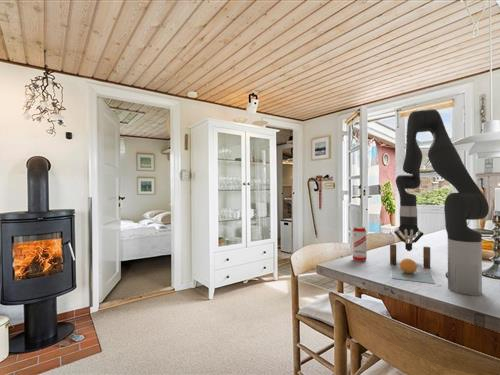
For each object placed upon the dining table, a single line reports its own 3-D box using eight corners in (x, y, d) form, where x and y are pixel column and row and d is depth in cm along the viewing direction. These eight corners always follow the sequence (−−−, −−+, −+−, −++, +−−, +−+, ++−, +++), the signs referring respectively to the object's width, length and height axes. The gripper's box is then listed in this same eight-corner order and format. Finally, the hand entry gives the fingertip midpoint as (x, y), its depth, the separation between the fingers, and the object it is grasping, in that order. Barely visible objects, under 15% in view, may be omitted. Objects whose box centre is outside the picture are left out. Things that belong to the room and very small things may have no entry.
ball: (416, 258, 115) (417, 272, 115) (400, 256, 118) (400, 271, 118) (416, 260, 110) (416, 276, 110) (399, 259, 113) (399, 274, 113)
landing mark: (435, 284, 101) (435, 283, 101) (391, 278, 107) (391, 278, 107) (430, 273, 113) (430, 273, 113) (392, 269, 120) (392, 268, 120)
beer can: (367, 262, 131) (367, 228, 131) (353, 261, 132) (353, 228, 132) (365, 259, 137) (364, 226, 137) (351, 258, 138) (351, 226, 138)
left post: (396, 265, 126) (396, 245, 126) (390, 264, 127) (389, 244, 127) (396, 263, 128) (396, 244, 128) (390, 263, 129) (389, 243, 129)
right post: (430, 268, 120) (430, 248, 120) (423, 268, 121) (423, 247, 121) (430, 267, 122) (429, 246, 122) (423, 266, 123) (423, 246, 123)
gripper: (393, 215, 136) (393, 251, 136) (425, 216, 130) (425, 253, 130) (393, 214, 143) (393, 248, 142) (423, 215, 137) (424, 250, 136)
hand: (408, 250), depth 136 cm, fingers closed
